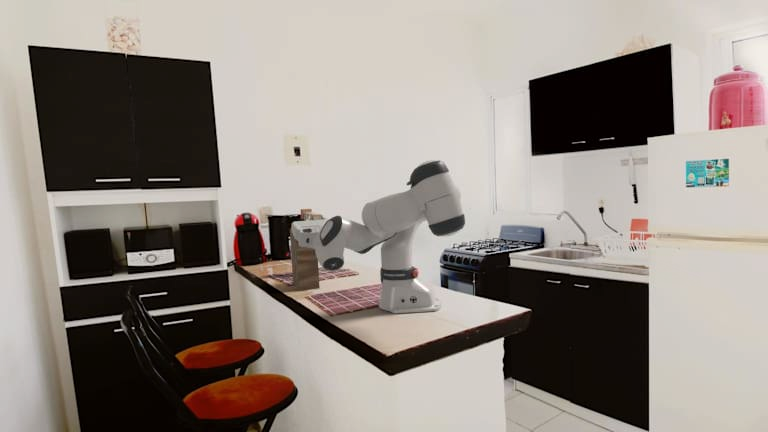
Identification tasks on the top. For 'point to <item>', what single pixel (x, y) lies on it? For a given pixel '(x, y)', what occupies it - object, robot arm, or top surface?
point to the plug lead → (309, 214)
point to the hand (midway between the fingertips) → (315, 216)
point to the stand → (304, 266)
